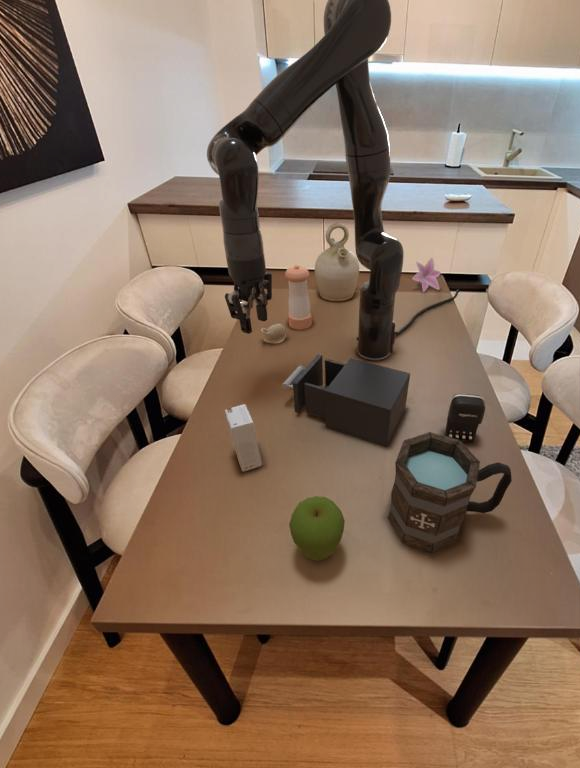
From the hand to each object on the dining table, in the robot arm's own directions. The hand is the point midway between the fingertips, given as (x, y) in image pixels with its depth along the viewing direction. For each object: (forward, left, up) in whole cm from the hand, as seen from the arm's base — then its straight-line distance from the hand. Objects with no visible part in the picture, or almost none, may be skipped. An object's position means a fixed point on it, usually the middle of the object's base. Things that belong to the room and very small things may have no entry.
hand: (255, 325), depth 90 cm
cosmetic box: (+12, +21, -18) cm, 30 cm away
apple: (+9, +46, -18) cm, 50 cm away
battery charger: (-30, +39, -18) cm, 52 cm away
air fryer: (-16, +23, -17) cm, 33 cm away
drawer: (-10, +14, -17) cm, 24 cm away
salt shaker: (-22, -24, -18) cm, 37 cm away
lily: (-75, -26, -18) cm, 82 cm away
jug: (-43, -37, -18) cm, 60 cm away
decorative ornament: (-11, -19, -18) cm, 28 cm away
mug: (-13, +52, -18) cm, 56 cm away
